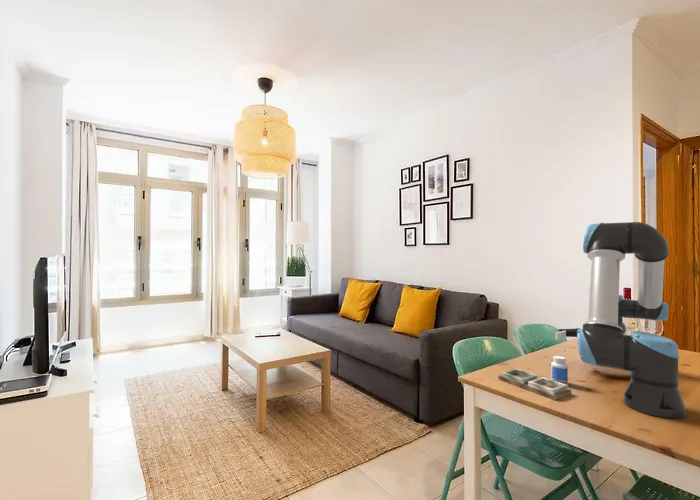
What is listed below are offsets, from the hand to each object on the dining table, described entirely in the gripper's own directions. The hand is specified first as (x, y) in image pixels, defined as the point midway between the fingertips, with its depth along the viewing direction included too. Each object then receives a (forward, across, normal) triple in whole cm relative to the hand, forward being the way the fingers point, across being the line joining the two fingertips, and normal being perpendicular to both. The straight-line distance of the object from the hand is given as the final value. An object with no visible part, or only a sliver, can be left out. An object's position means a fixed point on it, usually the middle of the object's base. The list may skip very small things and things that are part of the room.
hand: (573, 340), depth 140 cm
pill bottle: (+11, 0, -15) cm, 18 cm away
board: (+22, +3, -15) cm, 27 cm away
